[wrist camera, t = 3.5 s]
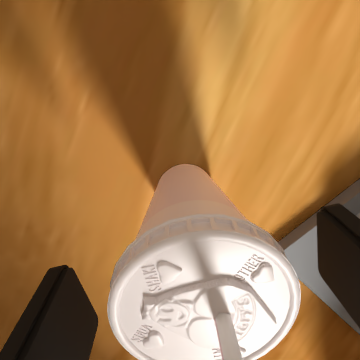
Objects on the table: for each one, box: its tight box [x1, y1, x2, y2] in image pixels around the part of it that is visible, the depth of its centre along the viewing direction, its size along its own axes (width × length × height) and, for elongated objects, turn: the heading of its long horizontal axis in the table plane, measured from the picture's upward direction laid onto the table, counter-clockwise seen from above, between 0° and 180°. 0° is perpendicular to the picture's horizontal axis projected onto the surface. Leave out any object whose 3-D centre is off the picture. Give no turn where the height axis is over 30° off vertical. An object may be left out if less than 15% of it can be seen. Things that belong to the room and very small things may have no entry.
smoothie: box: [107, 164, 301, 360], centre depth 11 cm, size 6×6×14 cm
